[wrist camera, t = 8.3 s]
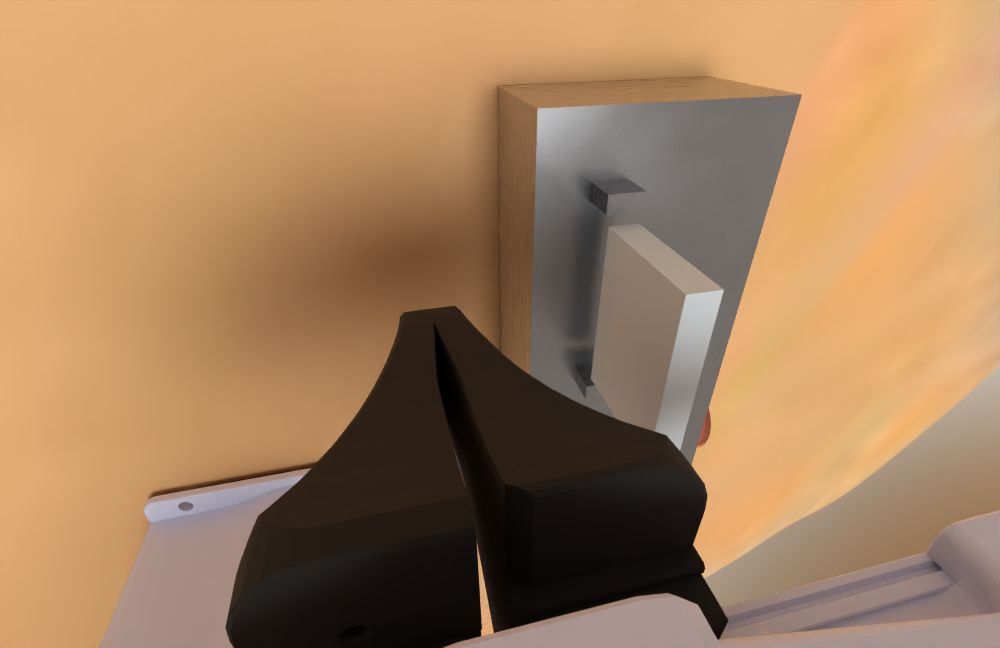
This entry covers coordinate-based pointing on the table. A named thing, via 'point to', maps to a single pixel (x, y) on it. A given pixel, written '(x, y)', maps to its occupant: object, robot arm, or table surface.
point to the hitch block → (627, 207)
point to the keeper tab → (651, 331)
